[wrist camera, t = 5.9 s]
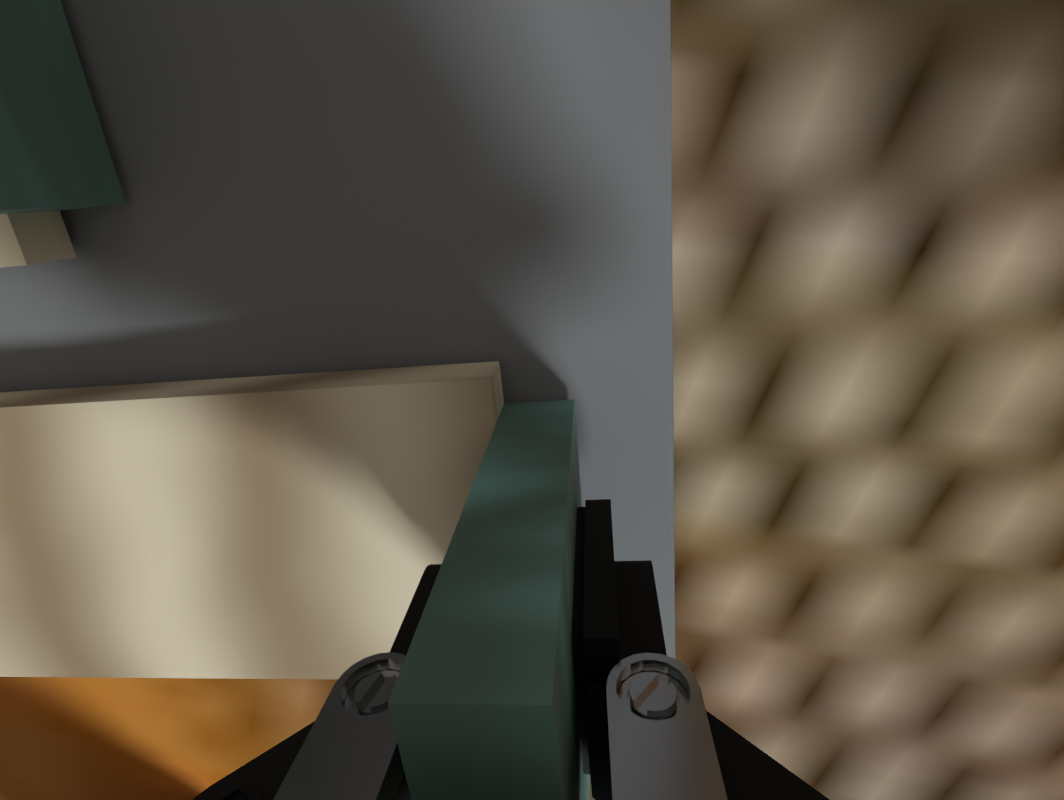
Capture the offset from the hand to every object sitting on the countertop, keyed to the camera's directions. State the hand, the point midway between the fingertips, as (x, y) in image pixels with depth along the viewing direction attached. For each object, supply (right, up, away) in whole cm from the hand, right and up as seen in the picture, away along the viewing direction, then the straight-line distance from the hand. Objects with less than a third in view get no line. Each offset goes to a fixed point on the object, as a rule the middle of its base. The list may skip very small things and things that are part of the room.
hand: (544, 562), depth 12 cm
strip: (-11, 0, +3) cm, 12 cm away
